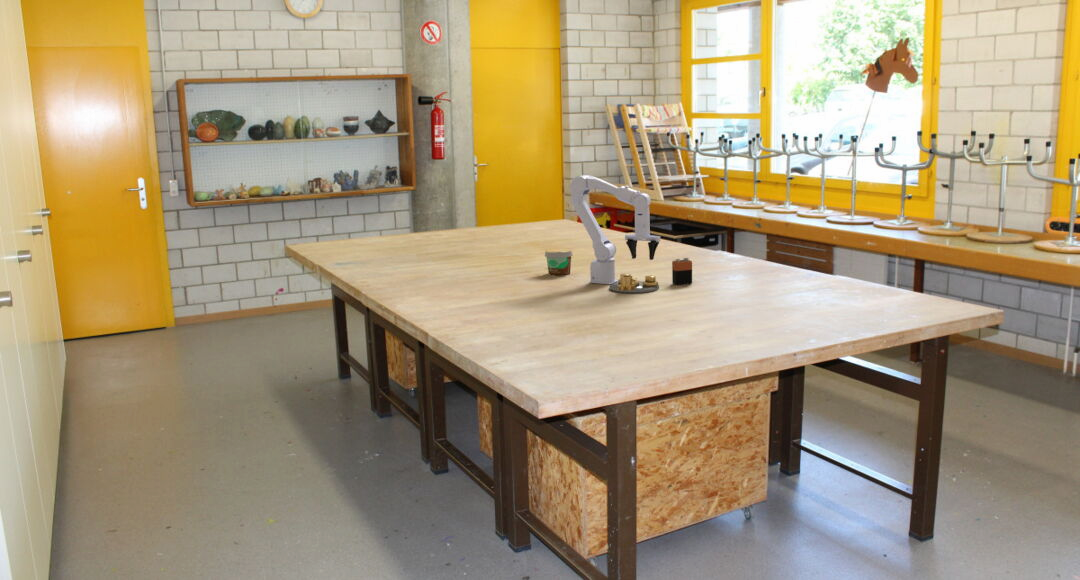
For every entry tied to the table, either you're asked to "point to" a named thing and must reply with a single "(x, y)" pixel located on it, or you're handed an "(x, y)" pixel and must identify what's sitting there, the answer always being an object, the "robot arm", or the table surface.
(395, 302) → the table surface
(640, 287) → the carrier
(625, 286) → the planet gear
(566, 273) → the food container
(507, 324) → the table surface
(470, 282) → the table surface
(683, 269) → the battery
